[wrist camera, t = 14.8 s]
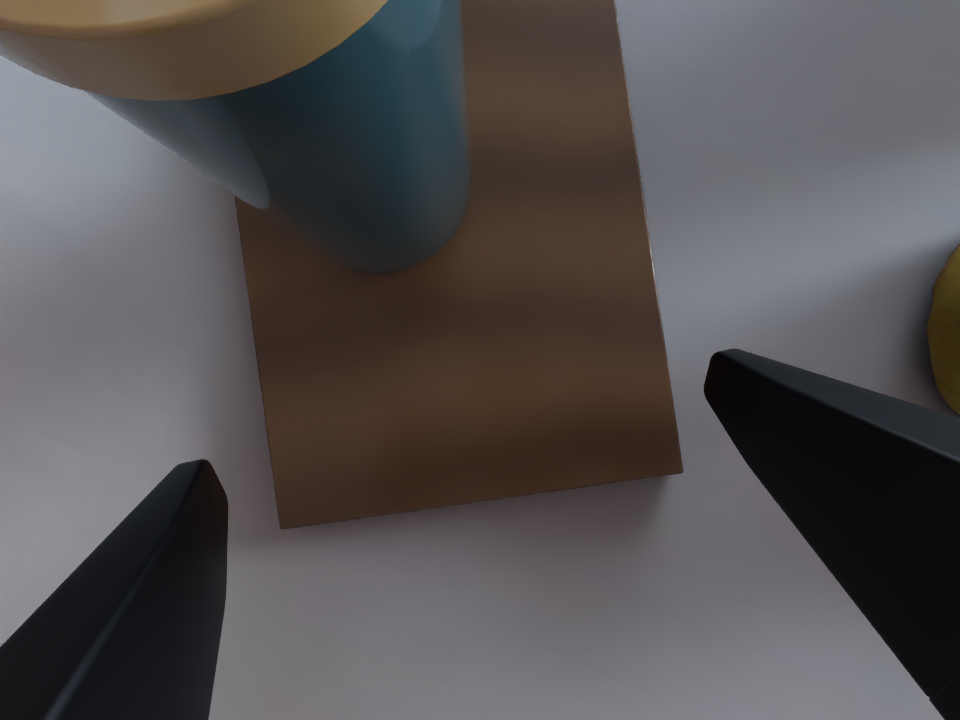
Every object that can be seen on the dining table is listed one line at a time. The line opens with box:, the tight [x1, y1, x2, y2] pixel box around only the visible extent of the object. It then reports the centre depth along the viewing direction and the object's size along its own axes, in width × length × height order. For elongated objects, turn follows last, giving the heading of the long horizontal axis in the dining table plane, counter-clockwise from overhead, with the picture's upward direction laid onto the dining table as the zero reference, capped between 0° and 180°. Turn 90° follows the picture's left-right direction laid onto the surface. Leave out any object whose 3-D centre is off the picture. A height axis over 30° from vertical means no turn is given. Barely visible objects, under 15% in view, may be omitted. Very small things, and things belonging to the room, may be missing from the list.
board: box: [235, 0, 683, 529], centre depth 18 cm, size 22×14×1 cm, turn 8°
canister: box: [0, 0, 471, 274], centre depth 11 cm, size 7×7×14 cm
